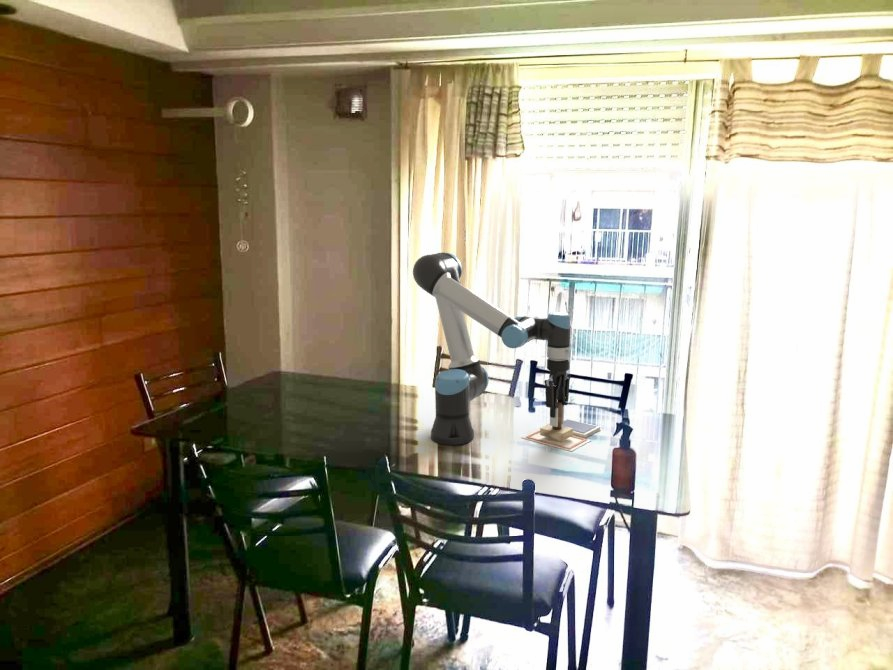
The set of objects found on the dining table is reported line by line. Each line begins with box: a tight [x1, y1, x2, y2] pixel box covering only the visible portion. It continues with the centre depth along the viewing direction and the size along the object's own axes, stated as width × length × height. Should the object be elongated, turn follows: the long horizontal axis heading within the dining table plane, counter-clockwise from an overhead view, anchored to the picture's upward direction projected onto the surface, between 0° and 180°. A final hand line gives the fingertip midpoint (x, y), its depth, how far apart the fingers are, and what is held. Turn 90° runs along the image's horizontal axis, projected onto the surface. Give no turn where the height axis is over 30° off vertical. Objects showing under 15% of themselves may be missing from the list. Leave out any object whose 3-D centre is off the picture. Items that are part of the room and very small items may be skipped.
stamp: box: [539, 401, 574, 441], centre depth 228 cm, size 9×7×12 cm
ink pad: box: [562, 418, 601, 439], centre depth 239 cm, size 14×11×1 cm
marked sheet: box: [521, 428, 592, 452], centre depth 230 cm, size 20×13×1 cm, turn 49°
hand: (556, 424), depth 229 cm, fingers closed on stamp, 3 cm apart
